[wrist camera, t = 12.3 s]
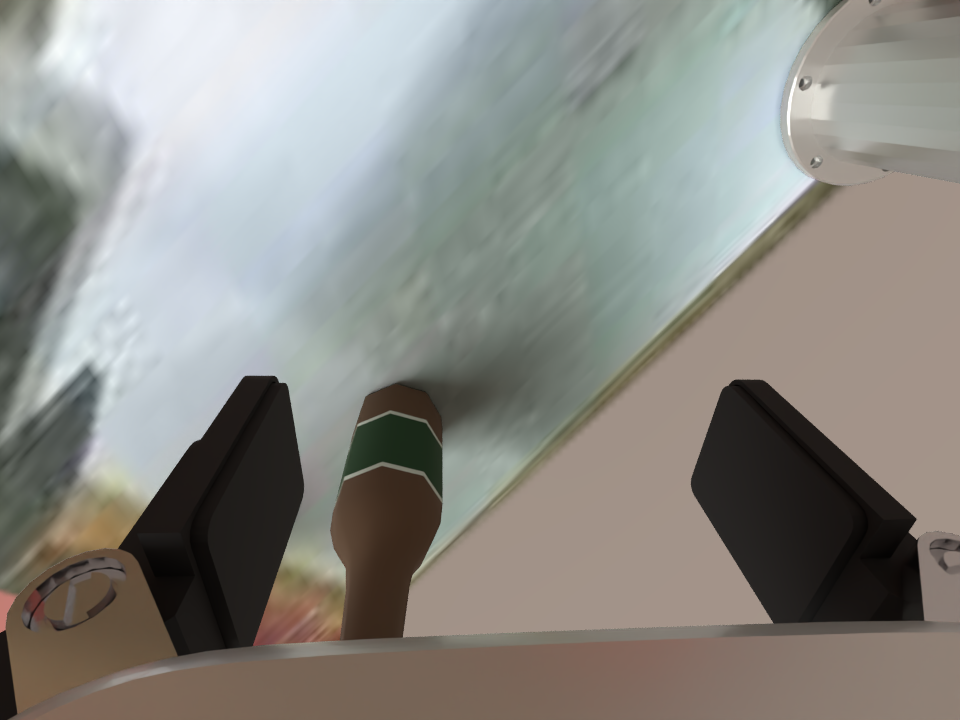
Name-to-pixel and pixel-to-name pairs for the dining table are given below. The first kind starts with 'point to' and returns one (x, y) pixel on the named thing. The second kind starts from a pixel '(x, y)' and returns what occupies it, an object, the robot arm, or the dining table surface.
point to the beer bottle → (387, 508)
